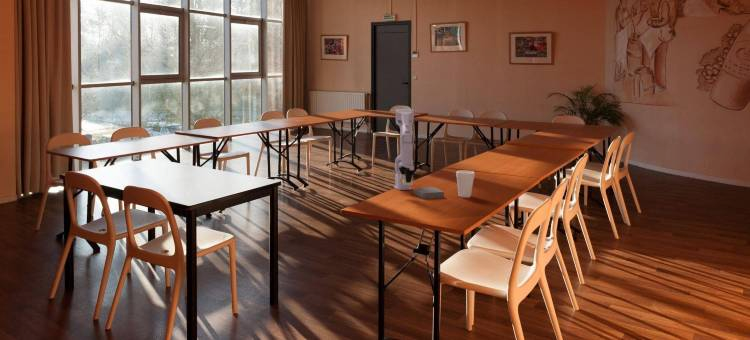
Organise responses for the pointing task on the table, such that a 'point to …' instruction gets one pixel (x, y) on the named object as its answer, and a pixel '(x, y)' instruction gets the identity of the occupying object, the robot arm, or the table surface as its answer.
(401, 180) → the cream cube
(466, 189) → the foam cup
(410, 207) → the table surface
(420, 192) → the charcoal plinth
